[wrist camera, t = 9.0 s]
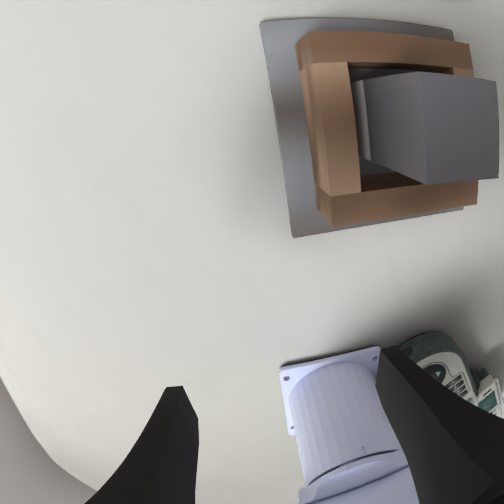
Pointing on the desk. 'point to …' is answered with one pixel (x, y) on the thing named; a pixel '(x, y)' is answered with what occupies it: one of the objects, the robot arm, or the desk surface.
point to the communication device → (454, 370)
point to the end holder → (350, 119)
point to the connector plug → (429, 125)
